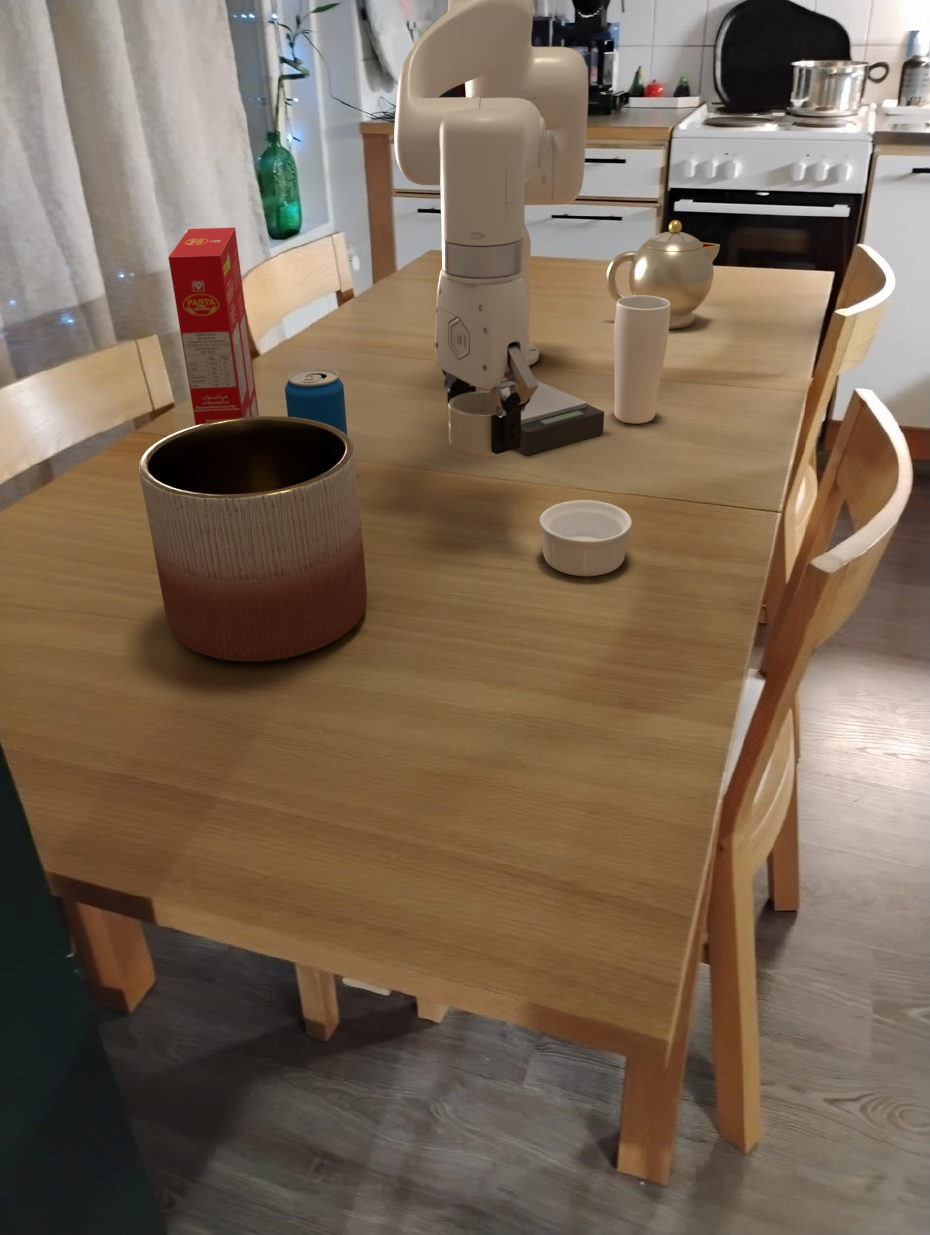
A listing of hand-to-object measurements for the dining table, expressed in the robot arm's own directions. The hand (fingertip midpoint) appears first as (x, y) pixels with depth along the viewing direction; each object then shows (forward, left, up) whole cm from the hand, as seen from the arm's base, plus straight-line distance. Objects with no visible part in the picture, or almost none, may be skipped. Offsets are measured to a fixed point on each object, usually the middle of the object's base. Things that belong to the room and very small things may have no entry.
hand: (483, 436), depth 103 cm
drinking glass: (-13, +33, -9) cm, 36 cm away
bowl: (0, 0, -1) cm, 1 cm away
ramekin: (+13, +3, -9) cm, 16 cm away
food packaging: (-32, -15, -9) cm, 36 cm away
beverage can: (-20, -9, -9) cm, 24 cm away
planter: (+5, -27, -9) cm, 29 cm away
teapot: (-44, +66, -9) cm, 80 cm away
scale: (-18, +20, -9) cm, 28 cm away
